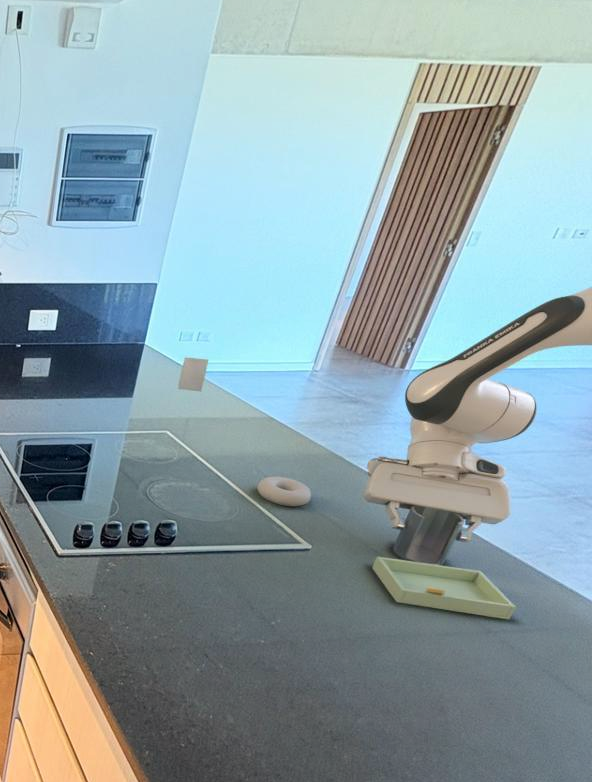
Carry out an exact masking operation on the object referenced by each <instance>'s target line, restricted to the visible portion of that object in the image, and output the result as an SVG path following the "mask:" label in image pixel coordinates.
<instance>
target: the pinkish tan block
mask: <svg viewBox="0 0 592 782" xmlns="http://www.w3.org/2000/svg"><path fill="white" fill-rule="evenodd" d="M208 364H209V359H208V358H207V359H206V358H198V357H197V358H195V357H188V356H187V357H184V359H183V363H182V366H181V367H182V368H181V372H180V376H179V381H178V385H177V390H183V391H184V390H185V391H193V392H202V391H203V385H204V382H205V378H206V373H207V369H208Z"/></svg>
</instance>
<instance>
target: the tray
mask: <svg viewBox="0 0 592 782" xmlns="http://www.w3.org/2000/svg"><path fill="white" fill-rule="evenodd" d="M371 568H372V570H373V571H374V573H375V575H376V576H377V577H378V578H379V580H380V581H381V583H382V585H384V587H385V588H386V590H387V591H388V592H389V594H390V595H391V596H392V598H393V599H394V600H395V603H401V604H406V605H413V606H420V607H425V608H433V609H438V610H439V609H440V610H444V611H445V610H447V611H452V612H458V613H466V614H470V615H471V614H472V615H478V616H482V617H483V616H484V617H489V618H497V619H502V620H510V619H511V617H512V615H513V614H514V612H515V610H516V608H517V606H516V605H515V604H514V603H513V602H512V601H511V600H510V599H509V598H508V597H507V596H506V595H505V594H504V593H503V592H502V591H501V590H500V589H499V588H498V587H497V586H496V584H494V583H493V582H492V581H491V579H489V578H488V576H486V575H485V574H484V572H482V570H476V569H469V568H462V567H461V568H460V567H454V566H448V565H434V564H427V563H420V562H412V561H406V560H404V559H398V558H390V557H385V556H383V557H382V556H376V558H375V560H374V563H373V565H372V567H371ZM426 589H437V590H443V591H444V594H437V593H430V592H426Z"/></svg>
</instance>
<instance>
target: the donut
mask: <svg viewBox="0 0 592 782" xmlns="http://www.w3.org/2000/svg"><path fill="white" fill-rule="evenodd" d="M256 488H257V492H258V494H259V495H260V496H261V497H262V498H263V499H265V500H267V501H269V502H271V503H274V504H277V505H279V506H285V507H300V506H304V505H306V504H308V503H309V502H310V501H311V498H312V492H311V490H310V488H309V487H307V485H306V484H304V483H302V482H300V481H298V480H295V479H293V478H289V477H283V476H268V477H265V478H263V479H261V480H259V482H258V484H257V486H256Z"/></svg>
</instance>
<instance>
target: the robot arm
mask: <svg viewBox="0 0 592 782" xmlns="http://www.w3.org/2000/svg"><path fill="white" fill-rule="evenodd" d="M574 346H575V347H577V346H592V286H589V287H588V288H585V289H583V290H581V291H578V292H575V293H573V294H570V295H566V296H565V295H564V296H560V297H555V298H553V299H550V300H548V301H546V302H544V303H542V304H539V305H538V306H536V307H534V308H532V309H531V310H529V311H527V312H526V313H524V314H522V315H521V316H519V317H517V318H516V319H514V320H512V321H511V322H509V323H506V325H504V326H502V327H501V328H499V329H497V330H495V331H494V332H492V333H491V334H489V335H488V336H486V337H484V338H483V339H481V340H480V341H478V342H476V343H475V344H473V345H471V346H470V347H468V348H467V349H465V350H463V351H462V352H460V353H459V354H456V355H455V356H454V357H451V358H450V359H448V360H447V359H446V361H443V362H441V363H439V364H436V365H435V366H432V367H429V368H428V369H426V370H424V371H423V372H421V373H419V374H418V375H416V376H415V377H414V378H413V379H412V380H411V381H410V382H409V384H408V385H407V388H406V389H405V394H404V402H405V407H406V408H407V411H408V413H409V415H410V416H411V419H410V427H409V432H410V436H411V440H410V442H409V444H408V446H407V451H406V459H402V458H391V457H387V456H378V457H373V458H371V459H370V460H369V461H368V462H367V466H366V473H367V474H368V478H367V480H366V483H365V487H364V491H363V498H364V499H365V500H366V502H367V503H371V504H376V505H382V506H385V509H384V511H385V512H386V514H387V516H388V518H389V519H390V520H391V522H390V529H394V530H398V531H399V530H400V531H401V530H402V529H403V528H404V526H405V524H404V523H405V520H406V518H402V517H400V515H399V513H398V511H397V510H399V509H405V510H408V511H410V509H411V507H412V506H414V505H417V506H422V507H428V508H433V509H439V510H445V511H450V512H454V513H456V514H458V515H460V516H461V517H462V518H463V519H464V521H465V522H464V525H466V526H467V527H466V528H465V529H462V528H461V530H460V532H459V534H458V536H457V538H456V540H455V541H457V542H462V543H469V542H471V541H472V535H473V532H474V531H475V530H477V528H478V527H479V526H480V525H481V524H487V525H497V524H499V523H502V522H503V521H506V519H508V518H509V517H510V515H511V493H510V489H509V486H508V484H507V483H506V482H505V481H504V480H502V479H503V478H504V477H505V476H506V475H507V469H506V467H505V466H503V465H502V464H499V463H496V462H493V461H491V460H488V459H485V458H484V457H481V456H479V455H476V454H475V453H472V447H473V445H475V444H490V443H497V442H503V441H506V440H507V441H508V440H511V439H513V438H516V437H518V436H519V435H521V434H523V433H524V432H526V431H527V430H528V429H529V427H530V426H531V425H532V423H533V422H534V420H535V418H536V414H537V403H536V402H537V401H536V399H535V397H534V396H533V395H532V394H531V393H530V392H527V391H525V390H523V389H520V388H518V387H514V386H513V385H512V386H511V385H509V384H506V383H503V382H500V381H496V380H492V379H490V378H492V377H494V376H495V375H497V374H499V373H501V372H502V371H505V370H506V369H508V368H509V367H511V366H513V365H515V364H516V363H518V362H520V361H522V360H523V359H525V358H527V357H530V356H531V355H533V354H535V353H538V352H542V351H544V350H545V351H546V350H549V349H553V348H561V347H574Z"/></svg>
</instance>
